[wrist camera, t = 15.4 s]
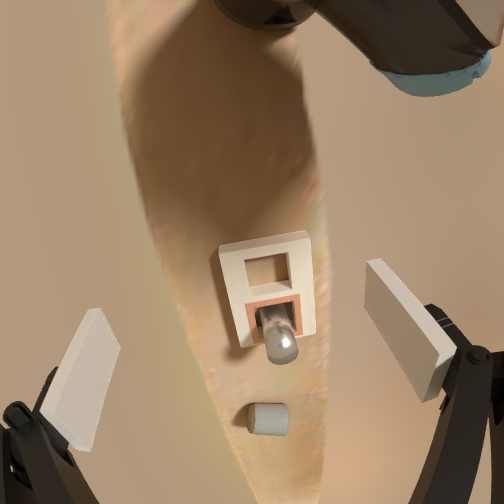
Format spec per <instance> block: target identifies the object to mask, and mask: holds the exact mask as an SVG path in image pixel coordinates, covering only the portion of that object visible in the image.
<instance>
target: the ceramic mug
mask: <svg viewBox="0 0 504 504" xmlns="http://www.w3.org/2000/svg"><path fill="white" fill-rule="evenodd" d="M288 428H289V409H288V406H287V404H274V403H255V404H252V405H250V407H249V409H248V415H247V429H248V431H249V432H250V433H252V434H257V435H272V436H285V435H286V433H287V431H288Z"/></svg>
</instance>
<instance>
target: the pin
mask: <svg viewBox="0 0 504 504" xmlns="http://www.w3.org/2000/svg"><path fill="white" fill-rule="evenodd" d="M259 312H260V318H261V323H262V329H263V334H264V340H265V345H266V350H267V356H268V359H269V361H270V362H272V363H273V364H277V365H284V364H288V363H290V362H292V361H293V360H295V359H296V357H297V356H298V347H297V344H296V341H295V337H294V334H293V331H292V327H291V324H290V321H289V318H288V314H287V311H286V308H285V305H284V303H279V304H274V305H269V306H263V307H260V308H259Z"/></svg>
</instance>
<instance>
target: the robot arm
mask: <svg viewBox="0 0 504 504" xmlns="http://www.w3.org/2000/svg"><path fill="white" fill-rule="evenodd" d="M215 2H216V3H217V5H218V6H219V8H220V9H221V10H222V11H223V12H224V13H225V14H226V15H227V16H228V17H230V18H231V19H233V20H234V21H236V22H238V23H240V24H242V25H244V26H247V27H250V28H254V29H259V30H270V31H271V30H283V29H288V28H291V27H294V26H297V25H299V24H301V23H303V22H304V21H306V20H307V19H308V18H310V16H312V15H313V14H314V13H315V12H317V13H318V14H319V15H320V16H321V17H323V18H324V19H325V20H326V21H327V22H329V23H330V24H331V25H332V26H333V27H334V28H336V29H337V30H338V31H339V32H340V33H341V34H342V35H343V36H345V37H346V38H347V39H348V40H349V41H350V42H351V43H352V44H353V45H354V46H355V47H356V48H358V49H359V50H360V51H361V52H362V53H363V54H364V55H365V56H366V57H367V58H368V59H369V60H370V63H371V65H372V66H373V67H374V68H375V69H376V70H378V71H379V72H381V73H382V74H384V75H385V76H386V77H387V78H388V79H389V80H390V81H391V82H392V83H393V84H394V85H395V86H396V87H397V88H398V89H400V90H401V91H404V92H405V93H407V94H410V95H413V96H419V97H433V96H440V95H445V94H449V93H452V92H455V91H457V90H460V89H462V88H464V87H466V86H468V85H470V84H472V82H473V80H472V79H474V78H480V77H481V76H482V75H483V74H484V73H485V72H486V71H487V69H488V67H489V65H490V63H491V54H490V49H493V48H495V47H498V46H500V44H501V39H502V34H503V28H504V0H215ZM364 307H365V309H366V311H367V312H368V314H369V315H370V317H371V318H372V320H373V322H374V323H375V325H376V326H377V328H378V330H379V331H380V333H381V334H382V336H383V338H384V339H385V341H386V342H387V344H388V346H389V347H390V349H391V351H392V352H393V354H394V355H395V357H396V359H397V361H398V362H399V364H400V366H401V367H402V369H403V371H404V373H405V374H406V376H407V378H408V379H409V381H410V383H411V384H412V386H413V388H414V390H415V392H416V393H417V395H418V397H419V398H420V400H421V402H422V403H423V402H426V401H428V400H430V399H433V398H435V397H438V395H439V393H440V390H441V388H443V389H444V391H445V393H446V396H445V398H444V400H443V402H442V404H441V406H440V408H439V409H440V410H441V413H440V417H439V420H438V424H437V427H436V431H435V434H434V437H433V440H432V443H431V447H430V450H429V453H428V456H427V458H426V461H425V464H424V467H423V469H422V472H421V475H420V477H419V480H418V482H417V485H416V487H415V490H414V492H413V494H412V497H411V499H410V501H409V503H408V504H468V501H469V498H470V495H471V492H472V488H473V485H474V481H475V477H476V474H477V470H478V465H479V461H480V457H481V452H482V447H483V442H484V437H485V431H486V425H487V419H488V417H489V427H490V440H491V467H492V483H491V504H504V351H501V352H494V353H490V351H489V350H487V349H486V348H484V347H482V346H477V345H472V344H471V343H470V342H469V341H468V340H467V338H466V337H465V336H464V335H463V333H462V332H461V331H460V330H459V329H458V328H457V326H456V325H455V324H453V322H452V321H451V320H450V319H449V318H448V316H447V315H446V314H445V313H444V312H443V311H442V309H440V308H438V307H437V306H435V305H433V304H429V305H426V306H423V305H422V304H421V303H420V302H419V301H418V299H417V298H416V297H415V296H414V295H413V294H412V293H411V291H410V290H409V289H408V288H407V287H406V286H405V285H404V284H403V282H402V281H401V280H400V279H399V278H398V277H397V276H396V275H395V274H394V272H393V271H392V270H391V269H390V268H389V267H388V266H387V265H386V264H385V263H384V262H383V260H381V258H378V259H374V260H369V261H366V284H365V304H364ZM120 349H121V348H120V346H119V344H118V342H117V340H116V338H115V336H114V334H113V332H112V330H111V328H110V326H109V324H108V322H107V320H106V318H105V316H104V314H103V311H102V309H101V308H93V309H88V311H87V313H86V314H85V316H84V318H83V320H82V322H81V324H80V326H79V327H78V330H77V331H76V333H75V335H74V337H73V339H72V341H71V343H70V345H69V347H68V349H67V351H66V353H65V356H64V357H63V360H62V361H61V364H60V366H59V367H55V368H54V369H53V370H52V372H51V373H50V374H49V376H48V377H47V379H46V382H45V385H44V386H43V388H42V391H41V393H40V395H39V397H38V399H37V402H36V404H35V406H34V409H33V411H32V412H31V411H30V409H29V408H28V407H27V406H26V405H25V404H24V403H23V402H21V401H16V402H13V403H11V404H10V405H9V406H8V407H7V408H6V409H5V411H4V414H3V420H4V422H5V423H6V424H7V425H8V426H9V427H10V428H8V429H5V428H4V427H3V426H2V425H1V424H0V504H99V502H98V501H97V499H96V497H95V496H94V494H93V493H92V491H91V489H90V487H89V486H88V484H87V482H86V481H85V479H84V477H83V475H82V473H81V471H80V470H79V468H78V466H77V464H76V462H75V460H74V458H73V456H72V454H71V453H70V451H69V450H68V449H67V448H68V445H69V443H70V444H71V445H72V446H73V447H74V448H75V449H76V450H80V451H88V452H91V449H92V445H93V441H94V437H95V433H96V429H97V426H98V422H99V418H100V414H101V411H102V407H103V403H104V400H105V397H106V393H107V390H108V387H109V383H110V380H111V377H112V374H113V370H114V367H115V364H116V361H117V358H118V355H119V352H120ZM10 465H11V466H12V467H13V472H11V468H10Z"/></svg>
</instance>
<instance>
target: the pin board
mask: <svg viewBox="0 0 504 504" xmlns="http://www.w3.org/2000/svg"><path fill="white" fill-rule="evenodd" d="M285 252H286V259H287V268H288V277H289V279H288V280H283V281H278V282H272V283H267V284H261V285H256V286H250V287H249V283H248V277H247V272H246V267H245V261H244V260H246V259H252V258H258V257H263V256H269V255H274V254H280V253H285ZM219 258H220V263H221V267H222V271H223V276H224V280H225V284H226V289H227V293H228V297H229V301H230V305H231V310H232V314H233V318H234V322H235V326H236V330H237V334H238V338H239V342H240V346H241V348H244V347H250V346H256V345H261V344H265V340H264V334H263V329H262V326H258V327H257V324H256V319H255V314H254V309H253V308H258V307H263V306H269V305H274V304H279V303H285V302H290V301H291V304H292V314H293V320H290V324H291V327H292V331H293V334H294V337H295V338H298V337H303V336H307V335H312V334H316V322H315V303H314V286H313V271H312V257H311V244H310V237H309V235H308V234H307V232H306V231H305V230H301V231H295V232H290V233H284V234H278V235H273V236H267V237H261V238H256V239H250V240H245V241H239V242H234V243H228V244H223V245H219Z"/></svg>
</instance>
